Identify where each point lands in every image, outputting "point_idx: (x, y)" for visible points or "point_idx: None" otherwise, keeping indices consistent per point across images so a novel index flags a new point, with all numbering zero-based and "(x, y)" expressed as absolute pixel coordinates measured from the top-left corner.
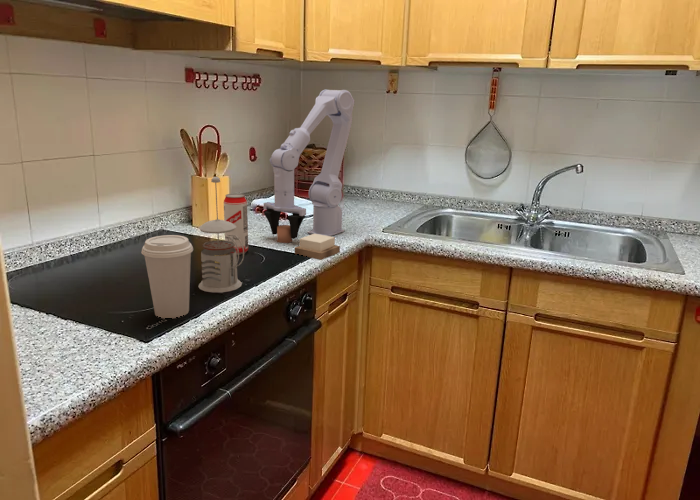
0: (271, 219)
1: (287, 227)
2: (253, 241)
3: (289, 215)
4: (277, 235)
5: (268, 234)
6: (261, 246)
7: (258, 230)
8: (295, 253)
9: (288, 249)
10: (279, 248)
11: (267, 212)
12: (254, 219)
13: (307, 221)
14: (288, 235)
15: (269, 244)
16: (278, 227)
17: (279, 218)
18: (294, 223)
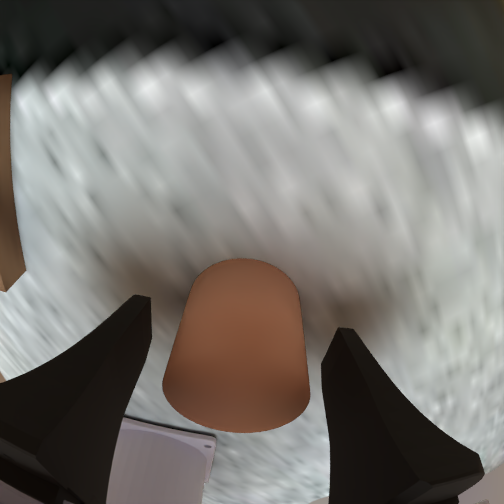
0: (384, 433)
1: (193, 388)
2: (456, 204)
3: (46, 472)
4: (287, 307)
5: (404, 369)
6: (342, 92)
7: (461, 387)
8: (4, 75)
9: (89, 131)
10: (162, 112)
11: (448, 489)
12: (476, 445)
13: (304, 495)
14: (181, 321)
15: (308, 178)
16: (275, 364)
17: (330, 474)
18: (27, 376)
